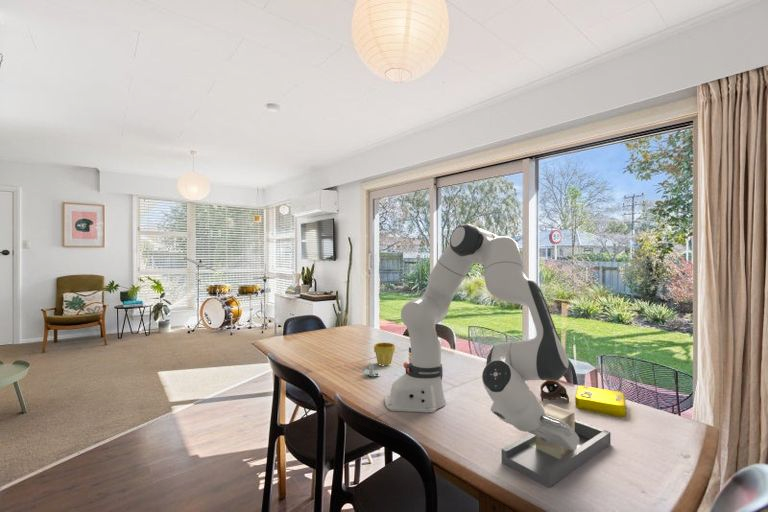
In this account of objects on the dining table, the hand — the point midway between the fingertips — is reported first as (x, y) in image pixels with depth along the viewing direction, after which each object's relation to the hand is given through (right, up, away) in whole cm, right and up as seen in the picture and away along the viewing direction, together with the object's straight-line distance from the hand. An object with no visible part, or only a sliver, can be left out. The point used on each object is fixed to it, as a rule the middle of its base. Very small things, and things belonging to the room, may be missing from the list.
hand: (545, 438), depth 94 cm
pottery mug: (+21, -6, +41) cm, 46 cm away
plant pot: (-42, -7, +86) cm, 96 cm away
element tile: (+35, -6, +35) cm, 50 cm away
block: (+3, -4, +2) cm, 6 cm away
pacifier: (-48, -7, +68) cm, 84 cm away
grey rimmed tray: (+5, -6, +4) cm, 9 cm away
